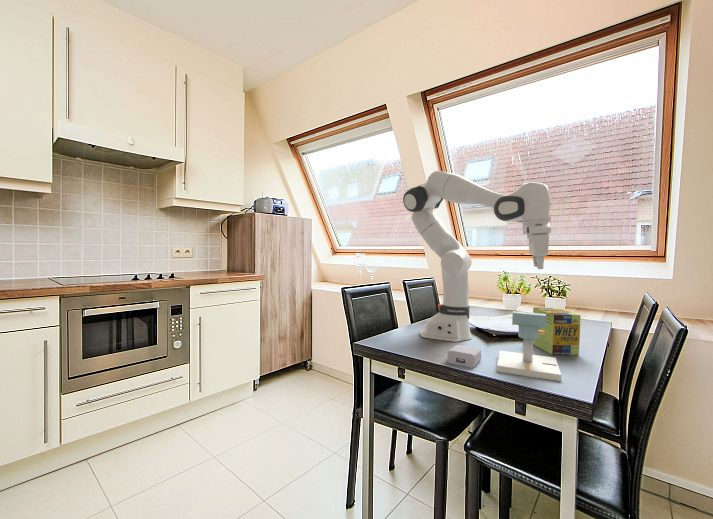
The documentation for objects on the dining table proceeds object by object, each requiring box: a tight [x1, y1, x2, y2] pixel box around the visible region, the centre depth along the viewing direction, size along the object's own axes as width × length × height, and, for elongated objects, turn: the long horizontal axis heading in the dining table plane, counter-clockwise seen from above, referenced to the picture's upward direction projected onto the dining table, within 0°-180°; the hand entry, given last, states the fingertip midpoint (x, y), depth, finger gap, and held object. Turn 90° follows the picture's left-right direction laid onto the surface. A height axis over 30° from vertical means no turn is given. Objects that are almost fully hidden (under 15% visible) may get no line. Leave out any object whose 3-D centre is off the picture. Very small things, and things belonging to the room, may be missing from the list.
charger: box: [446, 344, 482, 369], centre depth 124 cm, size 5×9×15 cm
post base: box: [496, 338, 562, 382], centre depth 116 cm, size 18×18×10 cm
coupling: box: [511, 310, 546, 339], centre depth 116 cm, size 10×6×8 cm, turn 65°
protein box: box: [532, 307, 581, 356], centre depth 137 cm, size 10×15×16 cm
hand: (538, 267), depth 122 cm, fingers open, 8 cm apart
